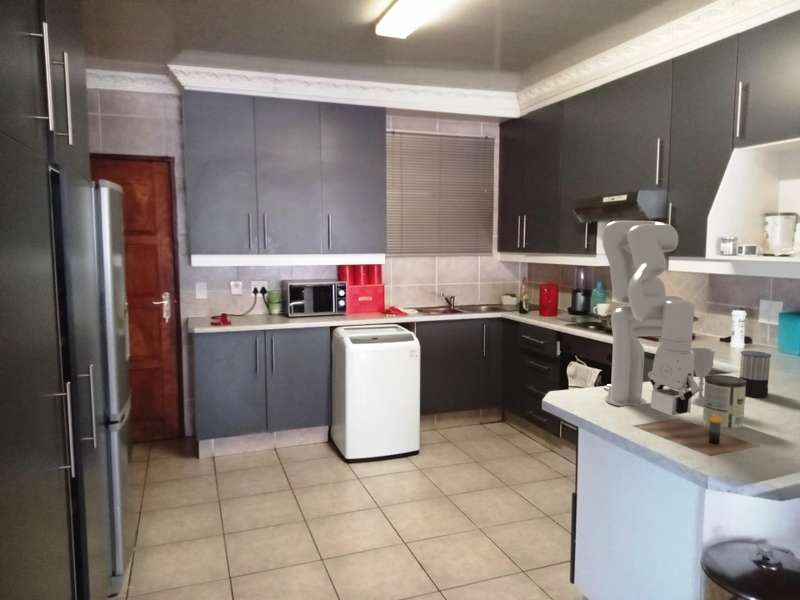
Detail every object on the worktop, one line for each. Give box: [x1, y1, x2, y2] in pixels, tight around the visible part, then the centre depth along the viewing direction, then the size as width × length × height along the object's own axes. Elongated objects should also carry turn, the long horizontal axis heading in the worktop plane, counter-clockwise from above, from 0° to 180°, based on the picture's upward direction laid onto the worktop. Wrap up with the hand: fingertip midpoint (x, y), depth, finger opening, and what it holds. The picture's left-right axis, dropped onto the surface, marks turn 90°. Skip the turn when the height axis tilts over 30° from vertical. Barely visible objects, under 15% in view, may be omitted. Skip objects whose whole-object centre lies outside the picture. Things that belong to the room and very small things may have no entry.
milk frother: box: [739, 350, 773, 399], centre depth 198 cm, size 14×16×15 cm
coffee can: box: [702, 374, 747, 429], centre depth 159 cm, size 10×10×14 cm
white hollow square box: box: [650, 387, 692, 416], centre depth 155 cm, size 7×7×5 cm
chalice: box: [691, 347, 716, 407], centre depth 182 cm, size 7×7×18 cm
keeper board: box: [633, 418, 760, 457], centre depth 148 cm, size 24×18×2 cm
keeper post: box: [708, 414, 722, 444], centre depth 142 cm, size 3×3×7 cm
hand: (670, 407), depth 155 cm, fingers closed on white hollow square box, 7 cm apart
